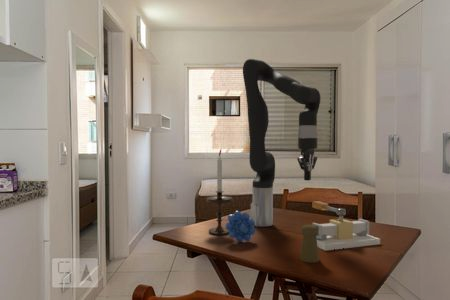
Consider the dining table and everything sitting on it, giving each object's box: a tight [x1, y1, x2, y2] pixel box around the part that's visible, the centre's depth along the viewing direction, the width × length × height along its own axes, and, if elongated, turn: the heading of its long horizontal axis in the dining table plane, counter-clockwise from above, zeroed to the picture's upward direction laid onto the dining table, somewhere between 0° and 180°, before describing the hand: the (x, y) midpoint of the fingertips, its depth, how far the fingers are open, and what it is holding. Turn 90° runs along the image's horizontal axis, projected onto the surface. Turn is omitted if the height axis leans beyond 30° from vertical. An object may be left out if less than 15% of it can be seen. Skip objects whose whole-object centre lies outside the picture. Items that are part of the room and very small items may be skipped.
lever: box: [311, 200, 347, 216], centre depth 139 cm, size 3×19×2 cm, turn 19°
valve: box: [311, 215, 381, 252], centre depth 132 cm, size 24×14×10 cm, turn 109°
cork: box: [299, 224, 320, 263], centre depth 112 cm, size 6×6×11 cm
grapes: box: [225, 210, 256, 243], centre depth 130 cm, size 12×7×12 cm, turn 104°
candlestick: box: [206, 149, 233, 236], centre depth 145 cm, size 11×11×35 cm
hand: (307, 180), depth 141 cm, fingers closed
